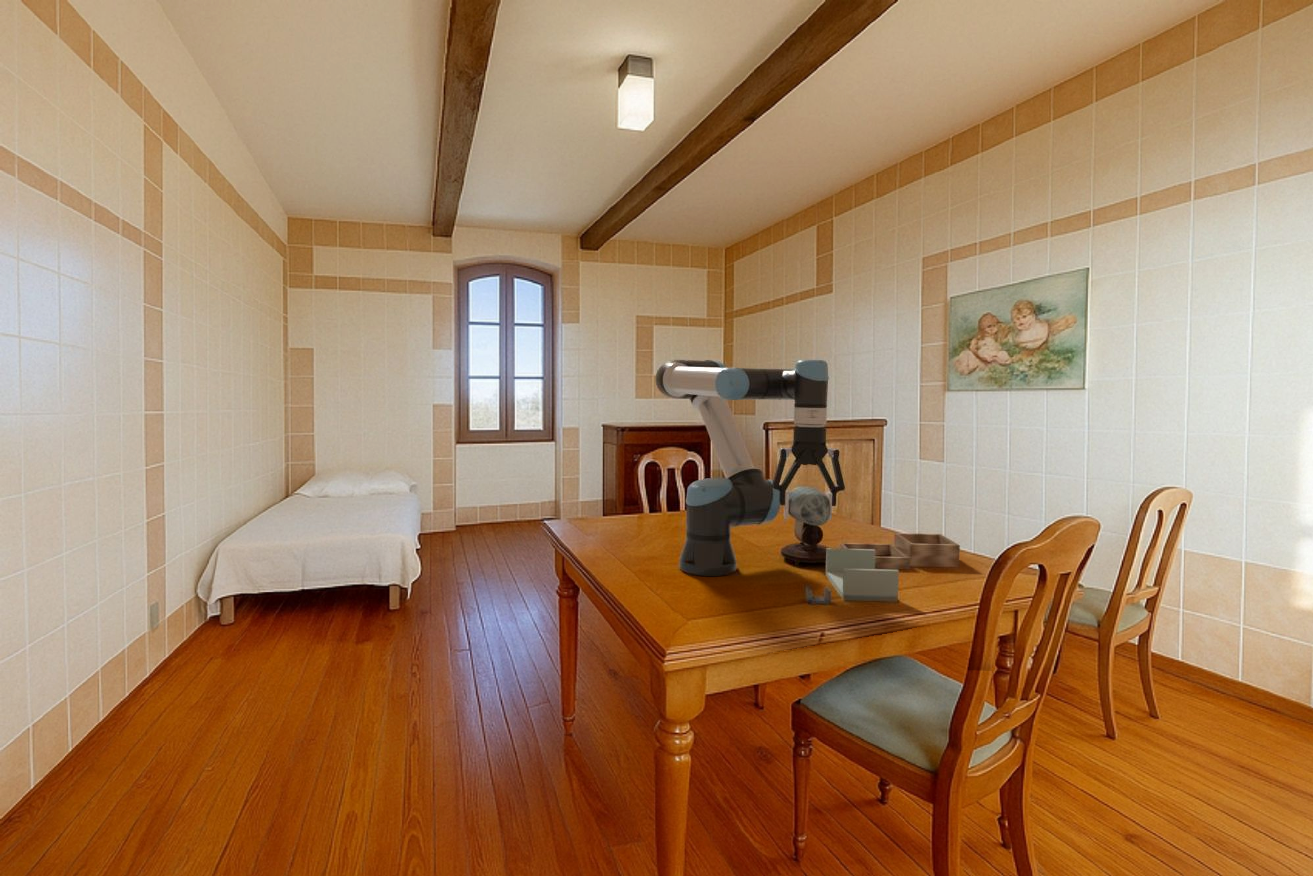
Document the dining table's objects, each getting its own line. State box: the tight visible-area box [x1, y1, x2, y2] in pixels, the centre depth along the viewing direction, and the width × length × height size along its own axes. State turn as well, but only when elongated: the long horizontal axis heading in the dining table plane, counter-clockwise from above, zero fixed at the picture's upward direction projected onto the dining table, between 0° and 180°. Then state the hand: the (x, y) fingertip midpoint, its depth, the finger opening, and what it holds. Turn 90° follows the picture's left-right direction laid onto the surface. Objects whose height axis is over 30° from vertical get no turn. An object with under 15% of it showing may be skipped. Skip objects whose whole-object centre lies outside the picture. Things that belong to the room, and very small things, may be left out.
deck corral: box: [838, 542, 911, 570], centre depth 175 cm, size 15×15×3 cm
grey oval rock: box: [788, 485, 831, 526], centre depth 150 cm, size 14×10×10 cm
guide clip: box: [805, 585, 832, 605], centre depth 141 cm, size 5×3×3 cm, turn 87°
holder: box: [825, 547, 900, 603], centre depth 151 cm, size 12×19×7 cm, turn 177°
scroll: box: [780, 518, 829, 567], centre depth 174 cm, size 15×15×20 cm
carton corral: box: [893, 532, 961, 568], centre depth 176 cm, size 13×13×6 cm
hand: (807, 518), depth 151 cm, fingers closed on grey oval rock, 9 cm apart
